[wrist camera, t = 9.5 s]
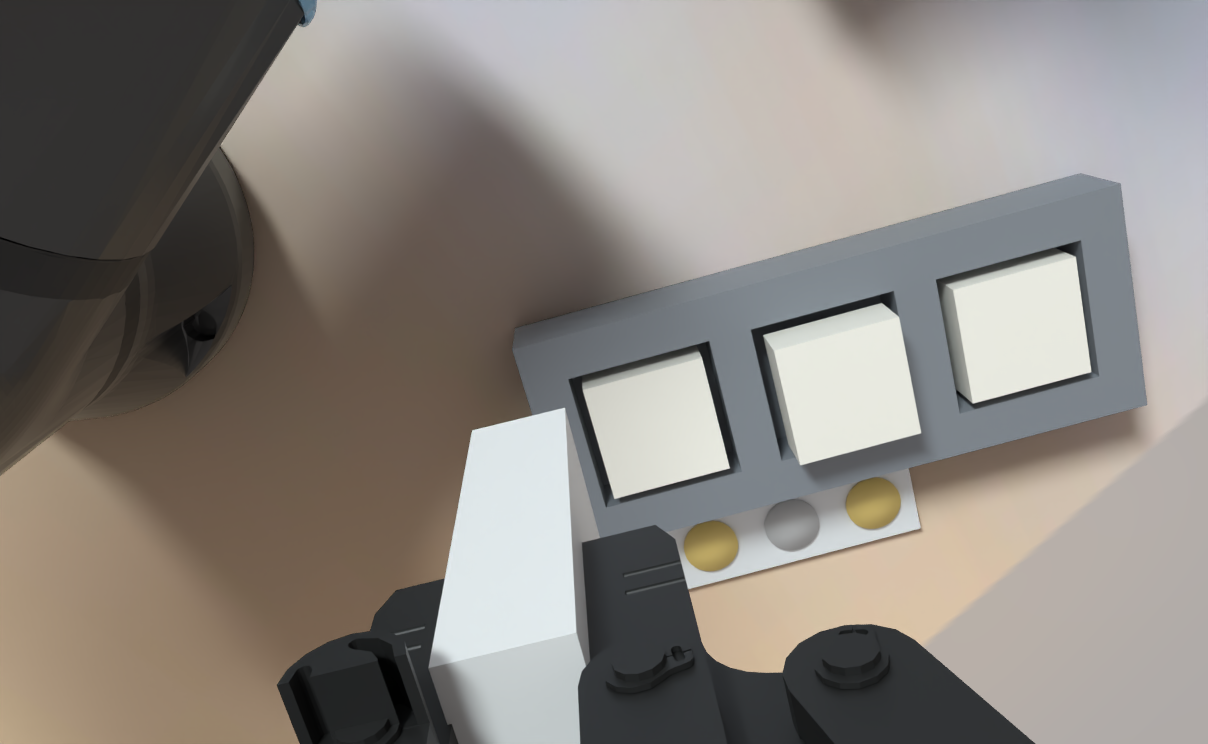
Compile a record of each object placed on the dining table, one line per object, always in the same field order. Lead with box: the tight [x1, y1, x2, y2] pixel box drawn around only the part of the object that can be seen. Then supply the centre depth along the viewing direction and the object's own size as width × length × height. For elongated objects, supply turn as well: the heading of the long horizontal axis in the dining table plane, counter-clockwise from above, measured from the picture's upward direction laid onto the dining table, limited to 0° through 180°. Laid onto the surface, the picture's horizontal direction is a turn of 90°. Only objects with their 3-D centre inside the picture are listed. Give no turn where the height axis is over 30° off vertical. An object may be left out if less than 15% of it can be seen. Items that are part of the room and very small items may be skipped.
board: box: [512, 174, 1147, 538], centre depth 48 cm, size 26×10×4 cm, turn 105°
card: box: [666, 468, 920, 589], centre depth 51 cm, size 12×4×1 cm, turn 105°
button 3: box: [936, 248, 1091, 403], centre depth 46 cm, size 5×5×2 cm
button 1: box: [582, 345, 730, 499], centre depth 47 cm, size 5×5×2 cm
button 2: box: [763, 303, 921, 465], centre depth 45 cm, size 5×5×2 cm
